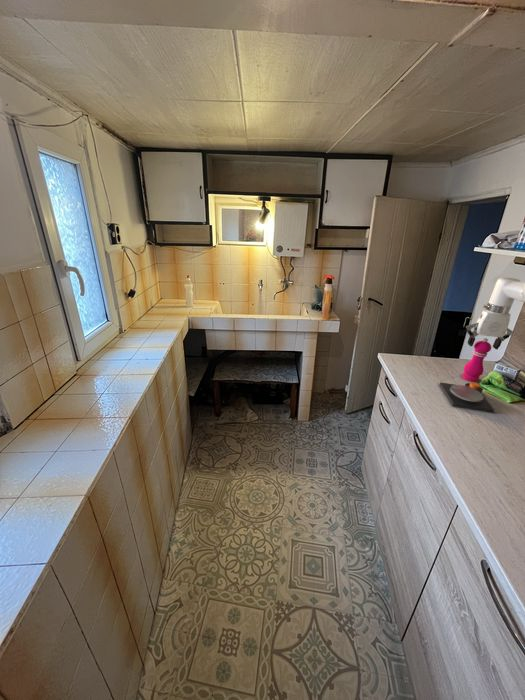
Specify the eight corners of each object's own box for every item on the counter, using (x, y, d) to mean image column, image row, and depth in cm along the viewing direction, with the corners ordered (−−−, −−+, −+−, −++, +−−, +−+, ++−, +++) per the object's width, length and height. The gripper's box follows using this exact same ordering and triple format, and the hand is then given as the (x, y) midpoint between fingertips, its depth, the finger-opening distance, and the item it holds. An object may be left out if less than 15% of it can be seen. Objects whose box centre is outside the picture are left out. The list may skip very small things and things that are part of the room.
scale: (476, 390, 120) (479, 384, 118) (494, 413, 105) (498, 406, 104) (439, 385, 123) (441, 379, 121) (452, 406, 108) (454, 399, 107)
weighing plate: (475, 388, 115) (476, 387, 115) (488, 404, 105) (488, 402, 105) (446, 384, 117) (446, 383, 117) (455, 399, 108) (456, 397, 107)
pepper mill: (460, 379, 128) (475, 338, 120) (460, 373, 134) (475, 333, 125) (479, 384, 124) (496, 343, 116) (479, 377, 130) (496, 337, 122)
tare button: (476, 386, 118) (477, 382, 117) (479, 390, 115) (481, 386, 114) (467, 385, 118) (469, 381, 117) (471, 389, 115) (472, 385, 115)
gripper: (478, 309, 114) (463, 347, 121) (527, 313, 110) (509, 353, 117) (470, 304, 120) (457, 340, 127) (517, 308, 117) (500, 346, 124)
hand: (482, 346), depth 122 cm, fingers open, 9 cm apart
